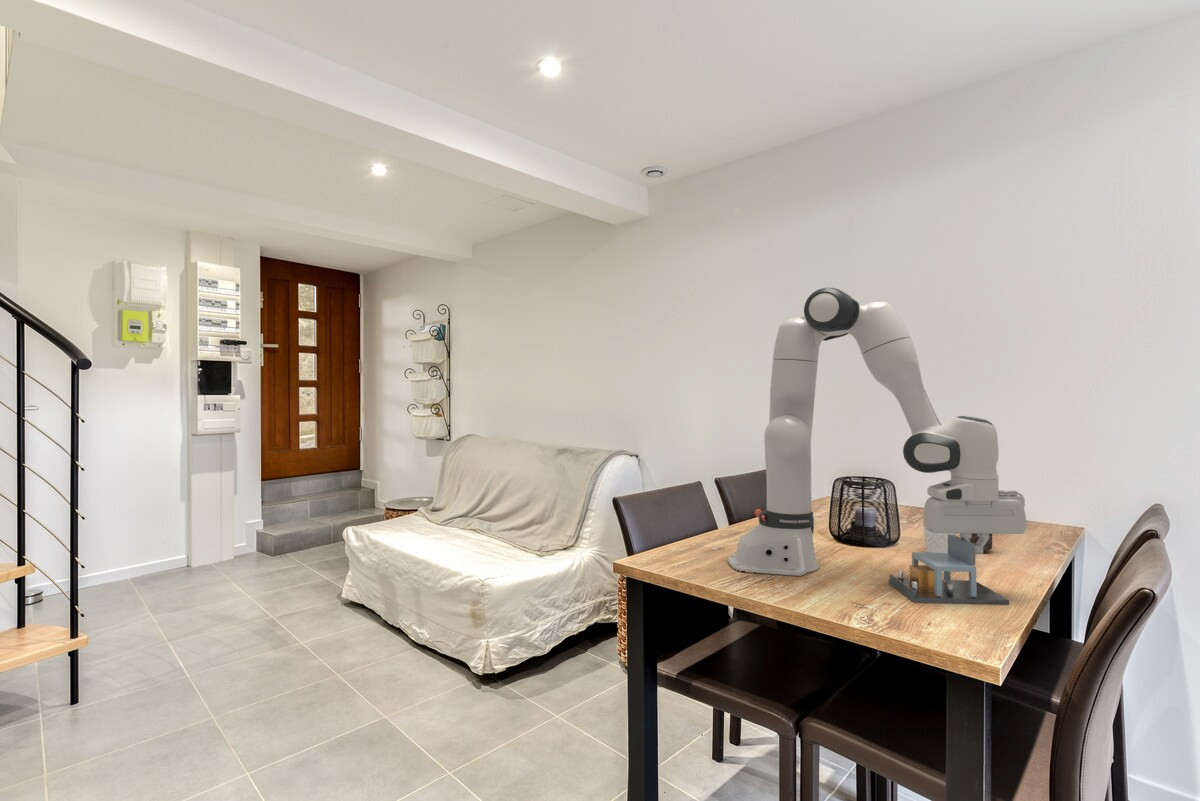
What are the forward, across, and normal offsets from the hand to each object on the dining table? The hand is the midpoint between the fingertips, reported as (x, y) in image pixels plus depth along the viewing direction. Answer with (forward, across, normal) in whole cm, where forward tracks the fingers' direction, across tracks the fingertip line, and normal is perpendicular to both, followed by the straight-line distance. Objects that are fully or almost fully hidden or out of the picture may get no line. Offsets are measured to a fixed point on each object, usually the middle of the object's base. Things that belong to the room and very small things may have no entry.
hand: (974, 553), depth 128 cm
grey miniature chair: (+8, +6, 0) cm, 10 cm away
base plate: (+9, +6, 0) cm, 11 cm away
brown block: (+8, +10, 0) cm, 13 cm away
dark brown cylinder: (+9, -21, -38) cm, 44 cm away
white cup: (+9, -9, -34) cm, 36 cm away
